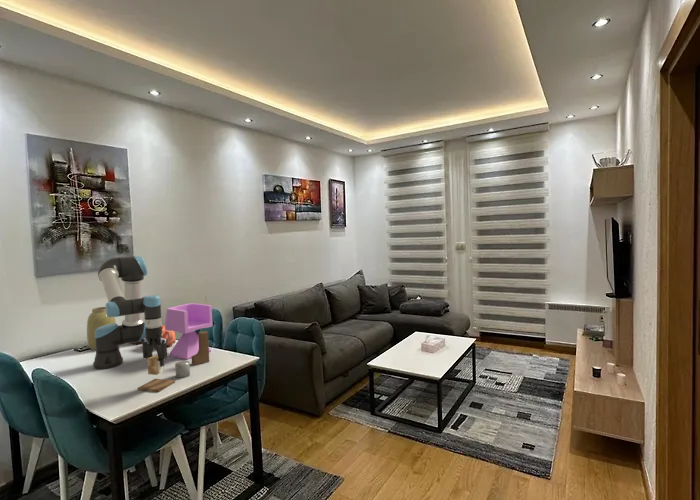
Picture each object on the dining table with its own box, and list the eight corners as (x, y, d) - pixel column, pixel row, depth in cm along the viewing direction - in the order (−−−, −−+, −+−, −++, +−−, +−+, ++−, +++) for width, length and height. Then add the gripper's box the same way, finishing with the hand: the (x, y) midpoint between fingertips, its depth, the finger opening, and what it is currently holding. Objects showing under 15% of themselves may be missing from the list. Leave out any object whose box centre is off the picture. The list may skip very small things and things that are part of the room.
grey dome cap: (173, 377, 210) (172, 365, 209) (181, 373, 217) (180, 360, 216) (184, 378, 208) (183, 365, 208) (192, 373, 215) (192, 361, 214)
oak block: (148, 374, 196) (147, 358, 196) (155, 370, 201) (154, 355, 201) (156, 374, 195) (155, 359, 195) (163, 371, 200) (162, 355, 200)
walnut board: (137, 390, 194) (137, 387, 194) (155, 380, 206) (155, 378, 206) (158, 392, 191) (158, 389, 191) (174, 382, 203) (174, 380, 203)
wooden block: (194, 365, 228) (192, 335, 227) (191, 363, 231) (190, 333, 230) (209, 361, 234) (208, 332, 233) (206, 360, 237) (205, 330, 236)
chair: (186, 360, 236) (184, 311, 235) (166, 355, 247) (164, 308, 245) (213, 351, 253) (211, 305, 251) (194, 347, 264) (191, 302, 262)
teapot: (144, 346, 269) (143, 325, 268) (162, 341, 279) (160, 321, 278) (162, 351, 257) (161, 329, 256) (180, 345, 267) (179, 325, 266)
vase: (107, 351, 259) (105, 310, 257) (81, 351, 259) (79, 311, 258) (122, 343, 276) (120, 305, 275) (98, 343, 276) (96, 305, 275)
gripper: (132, 327, 195) (135, 373, 197) (163, 329, 191) (166, 376, 192) (143, 324, 203) (146, 368, 204) (174, 325, 198) (176, 370, 200)
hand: (156, 372), depth 198 cm, fingers closed on oak block, 5 cm apart
